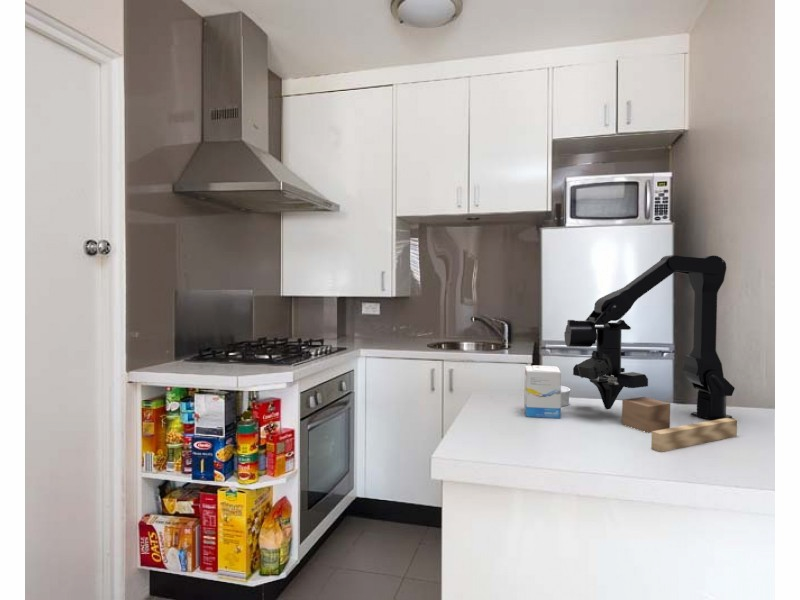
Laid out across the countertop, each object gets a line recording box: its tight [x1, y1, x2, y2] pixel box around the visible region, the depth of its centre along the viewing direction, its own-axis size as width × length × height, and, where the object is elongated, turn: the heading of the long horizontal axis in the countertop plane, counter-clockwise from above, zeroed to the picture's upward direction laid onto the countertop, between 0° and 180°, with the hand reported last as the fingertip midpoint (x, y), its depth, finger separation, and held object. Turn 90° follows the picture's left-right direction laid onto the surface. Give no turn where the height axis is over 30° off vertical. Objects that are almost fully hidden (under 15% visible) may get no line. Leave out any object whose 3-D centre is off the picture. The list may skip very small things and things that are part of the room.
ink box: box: [523, 364, 562, 419], centre depth 123 cm, size 9×8×12 cm
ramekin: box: [561, 385, 571, 407], centre depth 134 cm, size 9×9×4 cm
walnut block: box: [621, 396, 671, 434], centre depth 112 cm, size 7×7×6 cm
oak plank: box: [650, 418, 738, 453], centre depth 101 cm, size 24×2×4 cm, turn 114°
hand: (607, 408), depth 122 cm, fingers closed
